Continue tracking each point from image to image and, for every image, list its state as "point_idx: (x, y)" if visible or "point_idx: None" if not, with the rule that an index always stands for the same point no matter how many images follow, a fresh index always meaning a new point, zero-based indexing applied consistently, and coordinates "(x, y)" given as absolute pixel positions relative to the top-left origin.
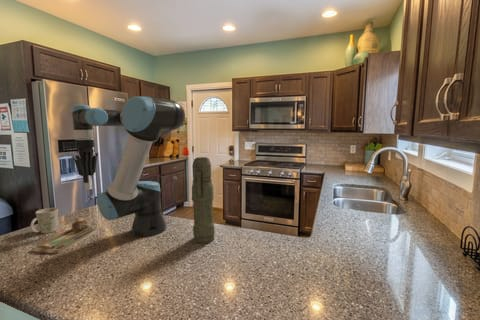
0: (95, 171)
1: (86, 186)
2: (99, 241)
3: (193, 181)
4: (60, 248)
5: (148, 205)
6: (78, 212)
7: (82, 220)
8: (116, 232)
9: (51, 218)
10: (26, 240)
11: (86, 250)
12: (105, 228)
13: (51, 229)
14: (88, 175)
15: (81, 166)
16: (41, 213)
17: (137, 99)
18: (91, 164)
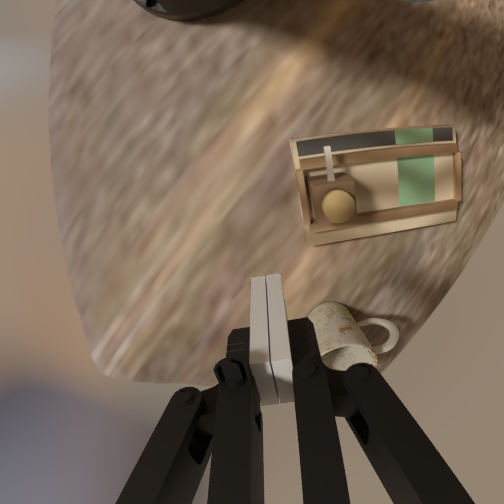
0: (171, 399)
1: (286, 314)
2: (351, 58)
3: None
4: (447, 126)
5: None
6: (172, 378)
7: (334, 191)
8: (262, 59)
9: (348, 328)
10: (397, 305)
11: (412, 51)
12: (245, 140)
13: (339, 306)
14: (267, 381)
15: (424, 453)
16: (376, 355)
17: None
18: (218, 490)
